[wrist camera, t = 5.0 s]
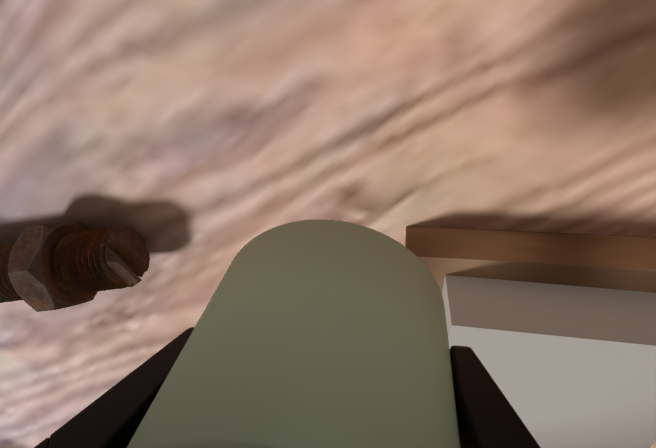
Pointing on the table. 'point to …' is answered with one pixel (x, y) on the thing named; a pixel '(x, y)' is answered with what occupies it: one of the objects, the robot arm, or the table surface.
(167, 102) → the table surface
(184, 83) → the table surface
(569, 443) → the grey top slab
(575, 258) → the walnut base slab
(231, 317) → the green cylinder
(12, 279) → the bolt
